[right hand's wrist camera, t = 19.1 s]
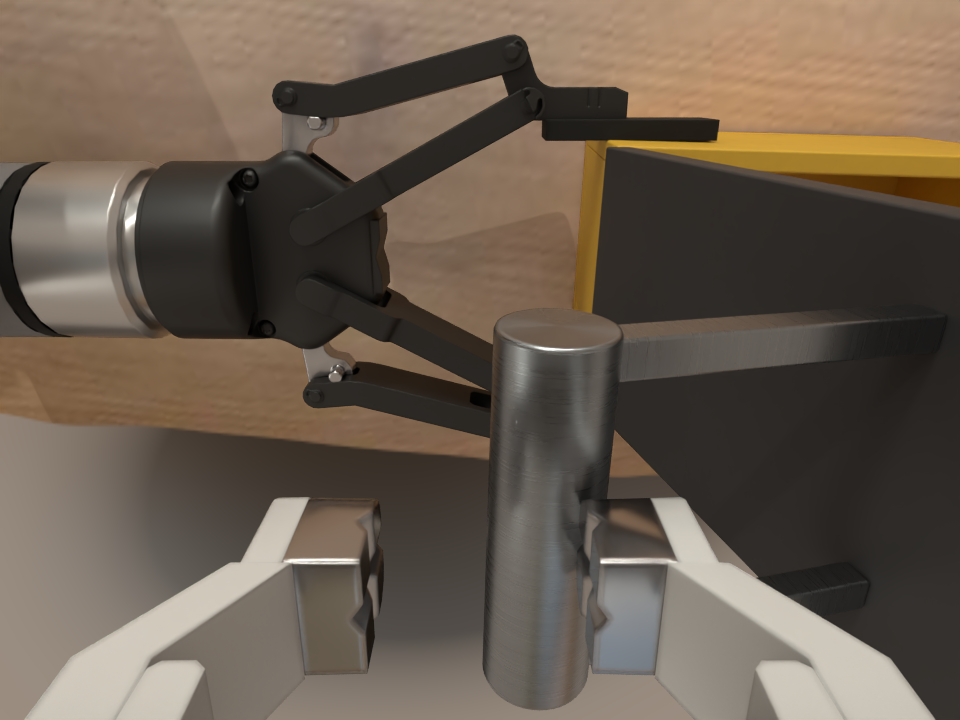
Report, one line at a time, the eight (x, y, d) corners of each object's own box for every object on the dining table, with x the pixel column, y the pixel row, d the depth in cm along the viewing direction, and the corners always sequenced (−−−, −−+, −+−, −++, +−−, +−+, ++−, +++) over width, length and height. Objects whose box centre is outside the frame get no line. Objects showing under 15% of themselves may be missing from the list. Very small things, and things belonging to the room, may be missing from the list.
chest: (915, 137, 33) (1091, 158, 23) (870, 320, 37) (1005, 410, 26) (586, 127, 34) (615, 145, 24) (572, 309, 37) (593, 392, 27)
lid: (1223, 254, 9) (591, 290, 6) (1000, 771, 12) (537, 911, 10) (630, 146, 23) (372, 146, 21) (605, 396, 27) (381, 419, 24)
